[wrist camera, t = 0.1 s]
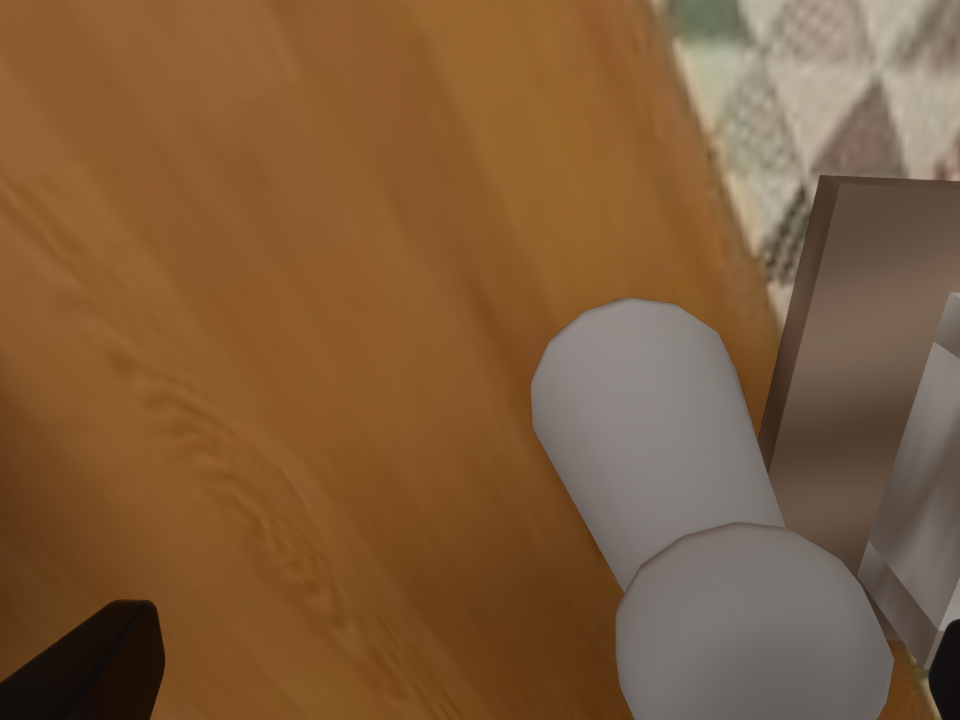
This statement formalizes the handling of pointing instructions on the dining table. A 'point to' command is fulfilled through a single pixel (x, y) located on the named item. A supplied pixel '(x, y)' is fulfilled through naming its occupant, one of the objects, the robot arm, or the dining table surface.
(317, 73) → the dining table surface
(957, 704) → the robot arm
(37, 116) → the dining table surface
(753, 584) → the salt shaker
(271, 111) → the dining table surface
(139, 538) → the dining table surface
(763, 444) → the socket board
